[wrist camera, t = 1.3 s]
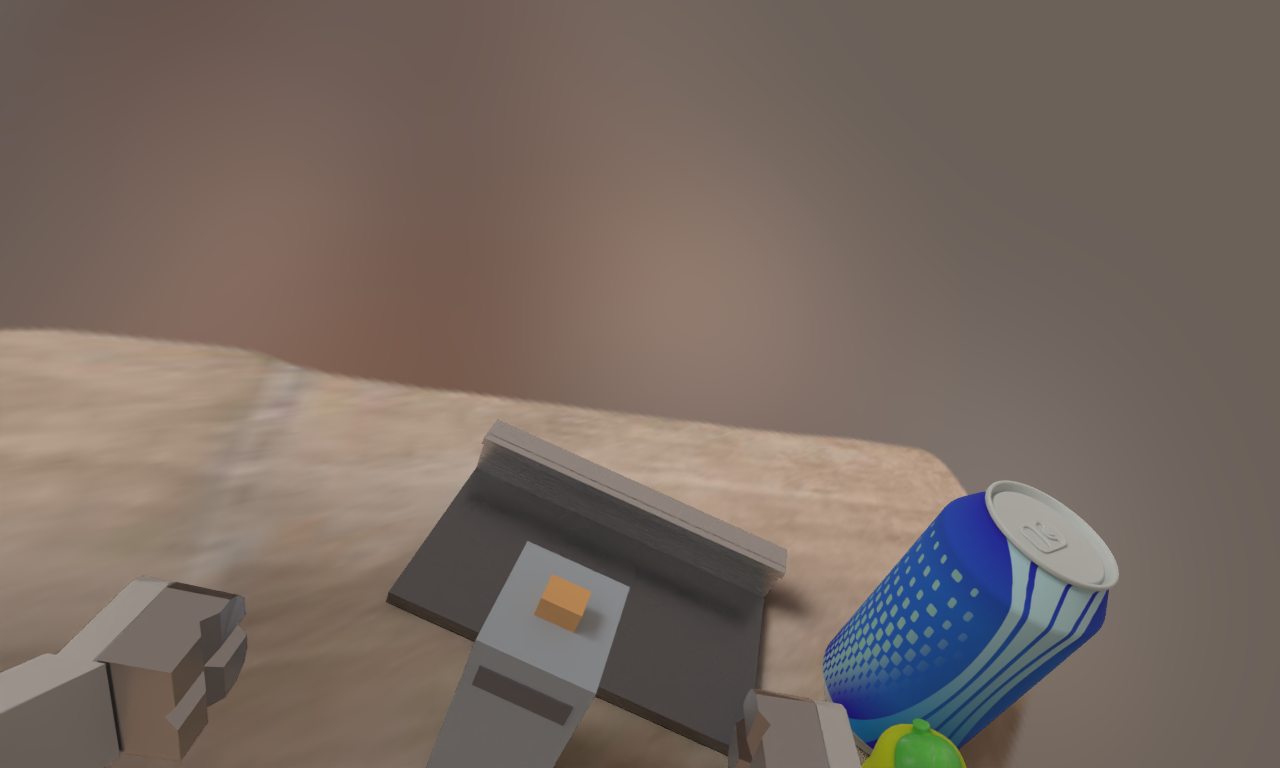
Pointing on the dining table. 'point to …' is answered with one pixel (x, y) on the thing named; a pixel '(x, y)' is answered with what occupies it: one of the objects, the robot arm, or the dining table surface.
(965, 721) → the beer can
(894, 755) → the fruit basket
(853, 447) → the dining table surface
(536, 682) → the module
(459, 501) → the rail plate
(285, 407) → the dining table surface
